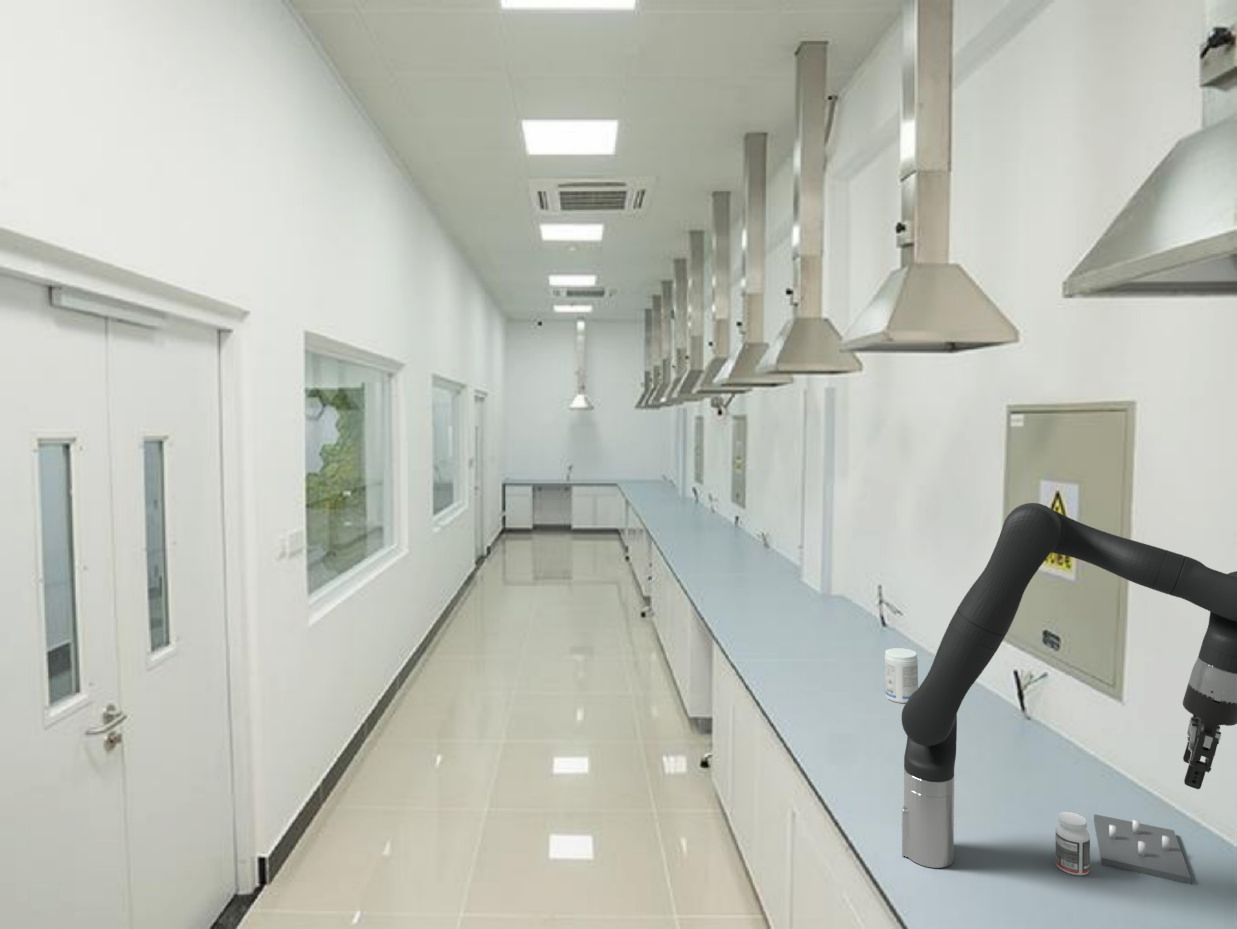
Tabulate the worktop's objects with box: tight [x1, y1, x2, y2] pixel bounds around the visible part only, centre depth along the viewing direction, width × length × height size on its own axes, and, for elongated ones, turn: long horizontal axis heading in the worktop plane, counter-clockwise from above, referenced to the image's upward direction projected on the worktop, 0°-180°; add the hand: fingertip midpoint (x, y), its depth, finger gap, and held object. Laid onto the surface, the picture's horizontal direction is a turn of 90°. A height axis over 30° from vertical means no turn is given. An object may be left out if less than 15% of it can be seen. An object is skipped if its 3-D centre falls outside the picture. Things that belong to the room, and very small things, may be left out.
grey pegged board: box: [1093, 813, 1192, 884], centre depth 149 cm, size 14×18×4 cm
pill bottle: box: [1054, 811, 1091, 877], centre depth 143 cm, size 6×6×10 cm
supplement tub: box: [884, 647, 919, 704], centre depth 231 cm, size 10×10×15 cm
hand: (1190, 774), depth 127 cm, fingers open, 8 cm apart
